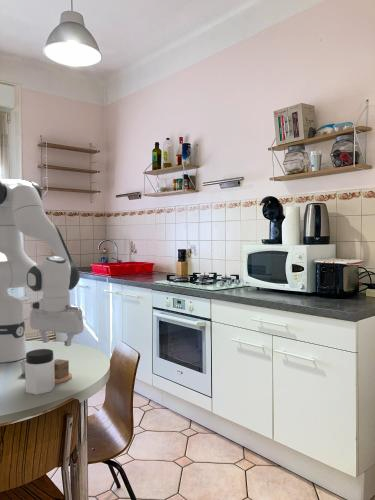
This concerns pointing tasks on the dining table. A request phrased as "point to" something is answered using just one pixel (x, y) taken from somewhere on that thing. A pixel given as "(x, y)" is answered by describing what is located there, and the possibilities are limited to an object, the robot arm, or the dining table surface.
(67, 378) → the pink glossy round part
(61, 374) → the walnut block
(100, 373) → the dining table surface
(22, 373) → the tin
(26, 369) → the jar
